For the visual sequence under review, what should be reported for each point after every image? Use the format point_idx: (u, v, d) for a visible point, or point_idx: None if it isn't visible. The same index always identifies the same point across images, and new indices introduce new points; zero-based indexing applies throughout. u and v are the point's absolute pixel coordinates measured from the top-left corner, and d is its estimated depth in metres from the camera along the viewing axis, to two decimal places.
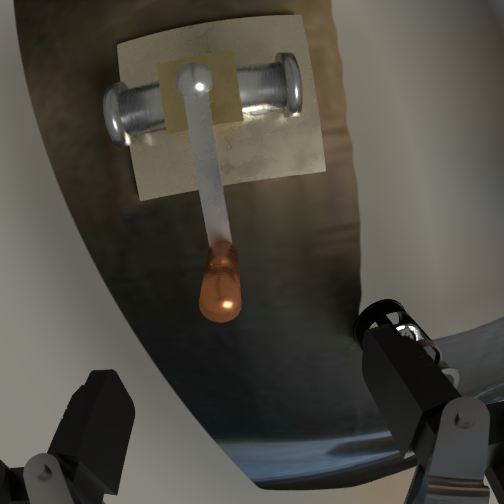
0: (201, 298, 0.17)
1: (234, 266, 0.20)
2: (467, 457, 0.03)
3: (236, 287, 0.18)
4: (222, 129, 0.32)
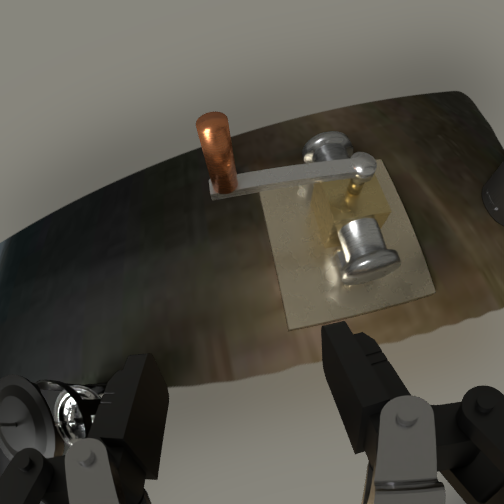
0: (217, 112, 0.22)
1: (227, 160, 0.24)
2: (415, 455, 0.04)
3: (221, 136, 0.21)
4: (319, 233, 0.39)
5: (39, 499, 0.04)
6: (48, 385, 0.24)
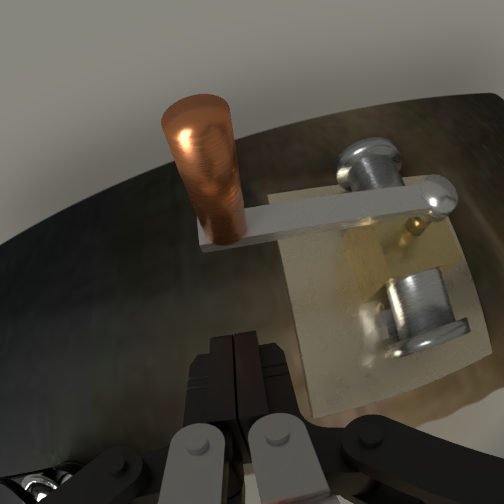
0: (209, 95, 0.10)
1: (229, 193, 0.13)
2: (297, 472, 0.04)
3: (216, 145, 0.10)
4: (356, 282, 0.27)
5: None
6: None
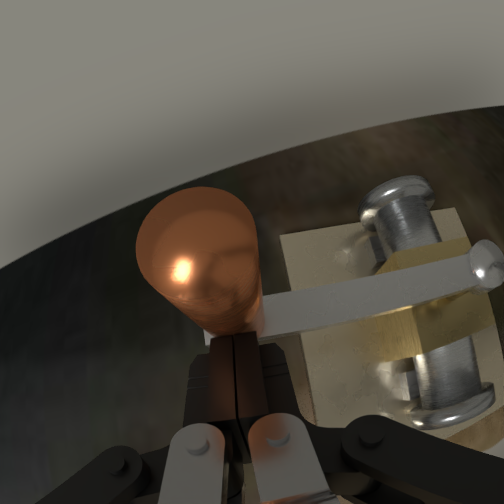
0: (217, 192, 0.06)
1: (248, 321, 0.09)
2: (297, 472, 0.04)
3: (234, 296, 0.06)
4: (377, 339, 0.23)
5: None
6: None
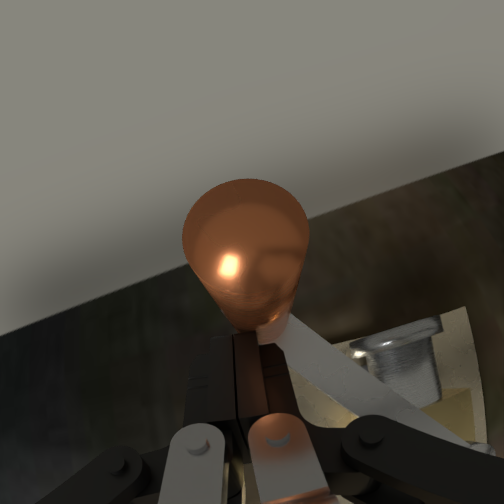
0: (299, 212, 0.06)
1: (250, 326, 0.09)
2: (297, 472, 0.04)
3: (234, 301, 0.06)
4: None
5: None
6: None
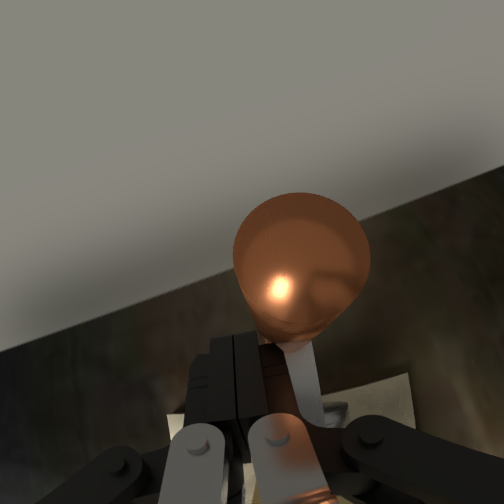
0: (364, 272, 0.05)
1: (260, 330, 0.08)
2: (297, 472, 0.04)
3: (250, 303, 0.06)
4: None
5: None
6: None
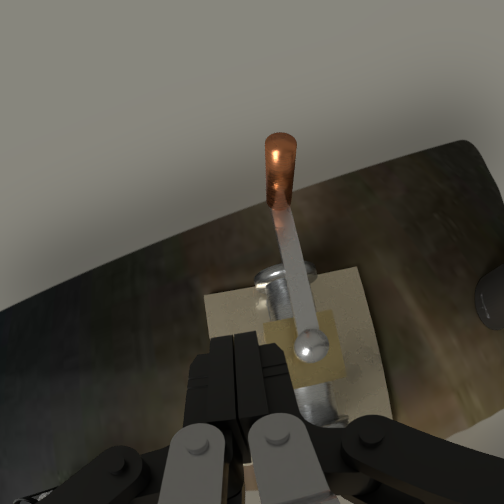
0: (295, 147, 0.22)
1: (269, 180, 0.25)
2: (297, 472, 0.04)
3: (268, 156, 0.23)
4: None
5: None
6: (29, 497, 0.19)
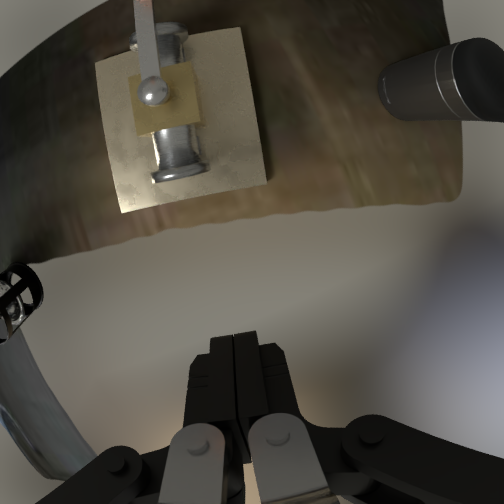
0: None
1: None
2: (297, 472, 0.04)
3: None
4: None
5: None
6: None
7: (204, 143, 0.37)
